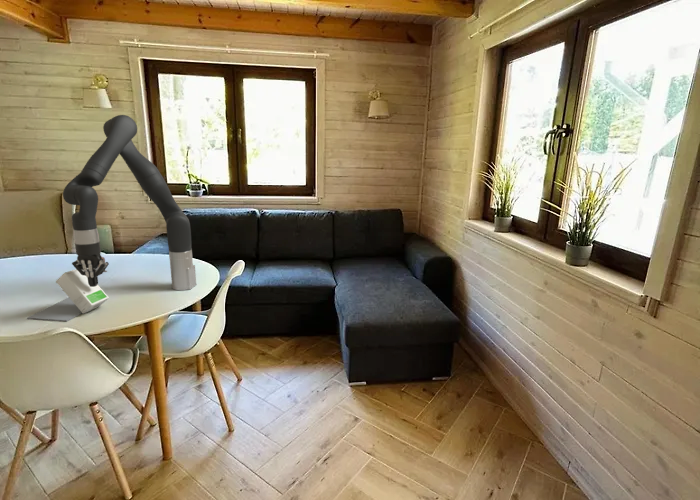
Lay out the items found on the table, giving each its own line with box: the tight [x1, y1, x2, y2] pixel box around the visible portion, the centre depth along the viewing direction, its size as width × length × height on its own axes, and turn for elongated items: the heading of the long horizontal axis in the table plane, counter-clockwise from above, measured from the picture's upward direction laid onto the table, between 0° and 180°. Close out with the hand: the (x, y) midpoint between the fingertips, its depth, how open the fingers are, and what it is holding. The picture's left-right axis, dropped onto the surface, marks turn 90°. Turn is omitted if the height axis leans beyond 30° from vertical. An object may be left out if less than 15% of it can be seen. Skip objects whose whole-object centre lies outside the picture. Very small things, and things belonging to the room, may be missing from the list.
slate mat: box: [26, 296, 83, 323], centre depth 146 cm, size 15×20×1 cm
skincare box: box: [55, 268, 110, 315], centre depth 144 cm, size 8×7×16 cm
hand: (93, 286), depth 143 cm, fingers closed
